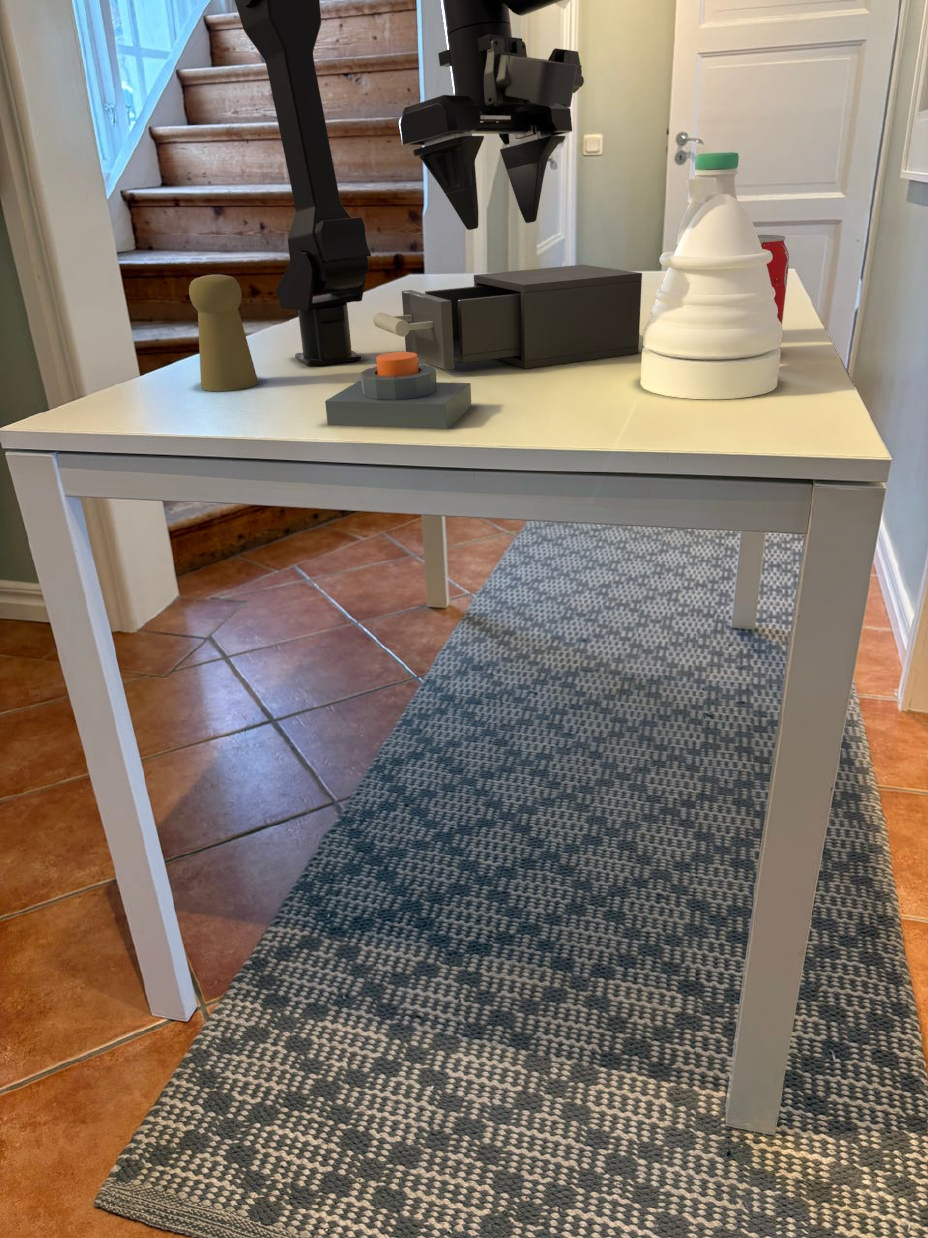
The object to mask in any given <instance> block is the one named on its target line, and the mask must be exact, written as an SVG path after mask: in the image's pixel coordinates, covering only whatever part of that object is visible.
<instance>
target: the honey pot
mask: <svg viewBox="0 0 928 1238" xmlns="http://www.w3.org/2000/svg"><path fill="white" fill-rule="evenodd" d="M715 185H716V178H700V179H696V178H687V179H686V189H687V192H688V195H689V197H690V198H691V199H693V200H694V201H695V202H698V203H701V202H706V203H705V204H704V205H703V206H702V207H701V208H700V209H699V210H698V212H697V213H696V215H695V216H694V217H693V219H692V220H691V222H690V224H689V225H688V227H687V229H686V231H685V232H684V234H683V236H682V238H681V240H680V242H679V244H678V247H677V249H676V248H675V250H674V249H673V250H668V251H665V252H662V253H661V255H660V256H659V263H660V264H661V265H662V266H663V267H666V268H667V270H666V272H665V275H664V278H663V281H662V283H661V286H660V287H659V288H658V289H657V291H656V293H655V303H654V304H653V305H652V307H651V311H650V318H649V319H648V320H647V322H646V324H645V325H644V327H643V332H642V336H643V337H642V339H643V341H642V346H643V348H642V351H641V362H640V363H641V364H640V365H641V366H640V384H639V385H640V386H641V387H642V389H644V390H646V391H647V392H650V393H654V394H658V395H660V396H666V397H673V398H679V399H681V398H682V399H689V400H690V399H691V400H732V399H733V400H735V399H742V398H751V397H756V396H761V395H764V394H767V393H770V392H773V391H774V390H775V389H776V388H778V380H779V378H778V377H779V370H780V361H781V355H782V354H781V353H782V352H781V348H780V347H781V346H782V338H783V334H784V331H783V324H782V325H781V323H780V321H779V319H778V318H777V314H778V308H777V305H776V303H775V301H774V297H775V290H774V288H773V287H772V286H771V281H770V277H769V272H768V268H767V264H768V263H769V262H771V260H772V258H773V256H772V253H771V252H770V251H769V250H765V249H762V247H761V244H760V241H759V238H758V235H759V234H758V232H757V230H756V228H755V226H754V223H753V221H752V219H751V217H750V215H749V213H748V211H747V210H746V209H745V207H744V206H743V204H742V203H741V202H740V201H739V200H738V198H737V199H735V198H734V197H732V196H731V195H730V194H712V193H713V191H714V188H715Z"/></svg>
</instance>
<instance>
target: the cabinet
mask: <svg viewBox="0 0 928 1238" xmlns="http://www.w3.org/2000/svg"><path fill="white" fill-rule="evenodd" d="M642 283H643V273H642V272H637V271H630V270H623V269H617V268H609V267H601V266H595V265H588V264H575V265H563V266H555V267H553V266H551V267H544V268H543V267H541V268H532V269H522V270H512V271H500V272H499V271H498V272H488V273H479V274H478V273H477V274H473V287H474V286H484V285H490V286H495V287H499V288H504V289H509V290H513V291H518V292H521V350H522V355H520V356H512V357H505V358H497V360H500V361H502V362H505V363H508V364H511V365H513V366H516V367H519V368H522V369H525V370H526V369H532V368H533V369H534V368H540V367H549V366H555V365H562V364H564V365H565V364H570V363H578V362H585V361H591V360H598V359H599V360H600V359H606V358H614V357H620V356H621V357H622V356H628V355H629V356H630V355H635V354H639V349H640V348H639V347H640V326H641V307H642V306H641V303H642V287H643V286H642Z"/></svg>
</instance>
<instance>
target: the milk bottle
mask: <svg viewBox="0 0 928 1238" xmlns="http://www.w3.org/2000/svg"><path fill="white" fill-rule="evenodd" d="M739 158H740V157H739V152H734V151H733V152H731V151H730V152H729V151H728V152H708V153H698V154H696V157H695V163H694V170H695V171H694V172H695V173H694V176H695V177H696V178H695V179H700V178H716V185H715V188H714V191H713V193H712V194H730V195H731V196H732V197H734V198H735V199H737V200H738V197H737V193H736V187H735V179H736V175H737V174H738V167H739ZM705 203H706V202H701V203H698V202H695V201H694V200H693V199H692V198H691V199H690V201H689V204H688V205H687V208H686V210H685V212H684V215H683V217H682V219H681V221H680V224H679V227H678V231H677V237H676V247H675V250H676V249H677V247H678V244H679V242H680V240H681V238H682V236H683V234H684V232H685V231H686V229H687V227H688V225H689V224H690V222H691V220H692V219H693V217H694V216H695V215H696V213H697V212H698V210H699V209H700V208H701V207H702V206H703V205H704V204H705Z"/></svg>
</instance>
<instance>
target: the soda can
mask: <svg viewBox="0 0 928 1238" xmlns="http://www.w3.org/2000/svg"><path fill="white" fill-rule="evenodd" d="M757 235H758V238H759V241H760V244H761V247H762V249H765V250H769V251H770V252H771V253H772V256H773V258H772V260H771V262H769V263H768V264H767V268H768V272H769V277H770V281H771V286H772V287H773V288H774V290H775V297H774V301H775V303H776V305H777V308H778V314H777V318H778V319H779V321H780V323H781V325H782V326H783V320H784V310H785V303H786V295H787V285H788V277H789V276H788V275H789V266H790V265H789V262H790V261H789V260H790V254H789V251H788V248H787V246H786V244H785V240H786V236H785V235H779V234H757Z"/></svg>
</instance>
